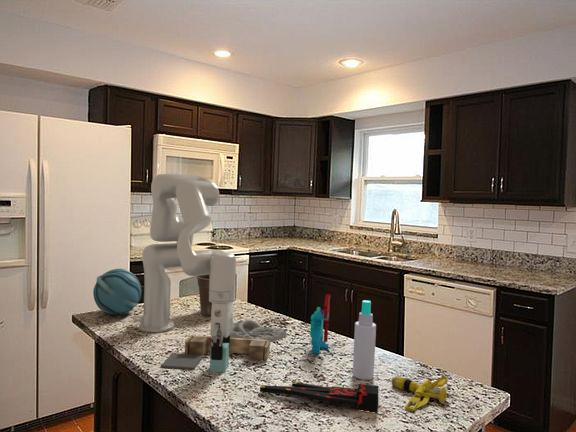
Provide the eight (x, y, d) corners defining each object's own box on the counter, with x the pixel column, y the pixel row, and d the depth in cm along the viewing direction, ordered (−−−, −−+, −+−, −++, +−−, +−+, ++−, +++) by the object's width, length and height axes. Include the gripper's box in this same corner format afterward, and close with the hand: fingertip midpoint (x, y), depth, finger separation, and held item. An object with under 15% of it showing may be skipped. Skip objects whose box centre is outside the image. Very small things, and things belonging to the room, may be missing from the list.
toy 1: (149, 282, 196) (111, 256, 189) (154, 292, 178) (113, 264, 171) (121, 317, 192) (82, 292, 186) (124, 330, 175) (81, 303, 168)
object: (188, 311, 191) (189, 274, 190) (219, 306, 202) (220, 271, 201) (208, 320, 179) (210, 280, 179) (241, 314, 190) (242, 276, 190)
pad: (160, 367, 130) (160, 365, 130) (172, 355, 140) (172, 353, 140) (194, 369, 129) (194, 367, 129) (203, 357, 139) (203, 355, 139)
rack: (184, 355, 140) (185, 341, 140) (190, 348, 146) (191, 335, 146) (266, 361, 138) (267, 347, 138) (269, 353, 144) (269, 340, 144)
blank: (209, 371, 129) (210, 347, 128) (213, 365, 133) (214, 342, 133) (225, 372, 128) (225, 348, 128) (228, 366, 133) (229, 343, 133)
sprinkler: (404, 362, 130) (457, 375, 121) (405, 375, 131) (457, 389, 121) (373, 392, 115) (430, 410, 106) (374, 406, 116) (431, 425, 106)
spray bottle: (348, 373, 131) (352, 299, 130) (365, 370, 134) (369, 298, 133) (360, 381, 126) (363, 304, 125) (377, 378, 128) (381, 303, 127)
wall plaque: (289, 336, 164) (290, 326, 164) (254, 349, 150) (254, 338, 149) (244, 323, 179) (244, 313, 179) (207, 333, 164) (208, 323, 164)
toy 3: (257, 404, 114) (377, 416, 106) (257, 384, 114) (377, 396, 106) (267, 390, 122) (378, 401, 115) (267, 372, 122) (378, 382, 114)
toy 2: (324, 326, 136) (330, 289, 147) (305, 325, 137) (312, 288, 149) (326, 361, 148) (331, 324, 159) (309, 359, 149) (315, 322, 160)
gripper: (228, 303, 121) (227, 365, 121) (240, 290, 138) (238, 345, 139) (201, 301, 121) (200, 363, 122) (216, 289, 139) (215, 343, 139)
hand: (220, 353), depth 130 cm, fingers open, 9 cm apart
